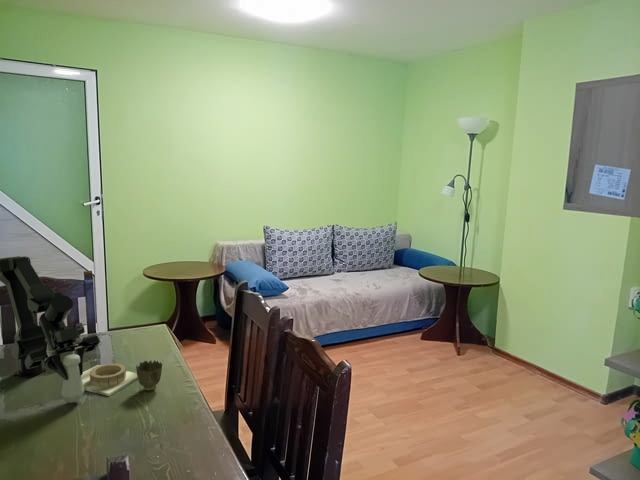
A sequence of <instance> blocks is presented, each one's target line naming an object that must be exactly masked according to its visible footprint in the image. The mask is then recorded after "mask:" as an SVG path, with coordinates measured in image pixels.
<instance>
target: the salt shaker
mask: <svg viewBox="0 0 640 480" xmlns="http://www.w3.org/2000/svg"><path fill="white" fill-rule="evenodd" d="M79 363H80V356H79V355H77V354H73V353H72V354H68V355H66V356H64V357H63V359H62V364H63V366H64V368H65V370H66V372H67V375H68V380H65V379H64V378H63V379H62V386H61V387H62V388H61V397H62V399H63V400H64V402H65V403H76V402H79V401H80V400H81V399H82V398H83V396H84V393H85V390H84V386H83V382H82V378H81V374H80V370H79V366H78V364H79Z"/></svg>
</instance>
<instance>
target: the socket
mask: <svg viewBox="0 0 640 480" xmlns="http://www.w3.org/2000/svg"><path fill="white" fill-rule="evenodd" d="M81 378H82V382H83V386H84V391H86V392H91V393H95V394H99V395H103V396H107V397H111V396H112V395H114V394H116V393H117V392H119V391H120V390H122V389H124V388H125V387H127V386H129V385H131V384H132V383H134V382H136V381H137V380H138V377H137V372H133V371H127V368H126V366H125V365H123V364H120V363H108V364H107V363H105V364H102V365H101V364H97V365H94V366H93V367H91V368H89V369H86V370H85V371H83V374H82V375H81Z"/></svg>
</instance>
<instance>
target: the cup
mask: <svg viewBox="0 0 640 480" xmlns="http://www.w3.org/2000/svg"><path fill="white" fill-rule="evenodd" d="M135 366H136V367H135V369H136V373H137V377H138V383H139V385H140V386H141V387H143V388H142V389H143V391H145V392H147V393H149V392H153V391H155V390H156V389H157V385H158V384H159V383H160V380H161V379H162V378H161V377H162V369H163V363H162V361H158V360H157V361H156V360H153V361H152V360H149V361H148V360H144V361H143V362H142V361H140V362H139V365H135Z"/></svg>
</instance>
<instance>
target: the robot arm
mask: <svg viewBox="0 0 640 480" xmlns="http://www.w3.org/2000/svg"><path fill="white" fill-rule="evenodd" d="M31 262H32V261H31V259H30V257H29V256H18V255H17V256H10V257H9V256H8V257H0V282H1V283H2V284H4V285H5V286H6V288H7V294H8V296H9V300H10V303H11V308H12V312H13V314H14V319H15V322H16V326H17V330H16V333H15V335H14V338H13V339H14V343H13V344H12V347H11V348H10V352H11V357H12V358H14V359H15V360H17V361H18V362H17V363H18V365H17V366H18V371H15V372H13V373H14V375H15V376H19V377H22V378H27V379H29V378H32V377H34V376H36V375H38V374H41V373H43V372H45V371H46V370H47V368H49V369H50V370H52V371H53V372H55V373H56V374H58V375H59V376H60V377H61V378H62V379H63V380H64V379H65V380H68V375H67V372H66V370H65V368H66V367H65V366H64V365H63V361H62V359H61V355H65V354H68V353H72V354H77V355H79V356H80V363H79V364H78V366H79V370H80V374H81V375H82V374H83V372H84V370H83V369H84V368H83V363H84V360H83V359H84V354H86V353H89V352H93V351H95V350H96V348H97V347H98V346H99V344H100V343H101V340H100V337H99V336H98V335H96V334H92V335H89V336H88V335H87V336H84V337H83V338H82V339H81V340H80V342H78V343H75V342H76V341H77V338H80V335H82V334H84V333H85V327H84V325H83V323H82V322H77V323H75V324H73V326H72V327H69V325H67V326H66V323H65V321H64V320H65V319H67V317H68V315H70V312H71V310H72V309H73V306H74V301H73V300H72V299H71V298H70V297H69V296H66V295H64V294H62V292H61V291H58V292H56V291H55V290H54V289H53V288H52V287H50V286H48V285H45V283H43V281H42V279H41V278H40V276H39V274H38V273H37V272H36V270H35V269H34V266H33V265H32V263H31ZM40 313H42V314H41V315H40V316H39V319H38V324H37V323H36V322H35V318H34V316H33V314H35V315H36V314H40ZM48 346H49V349H50V350H48Z"/></svg>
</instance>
